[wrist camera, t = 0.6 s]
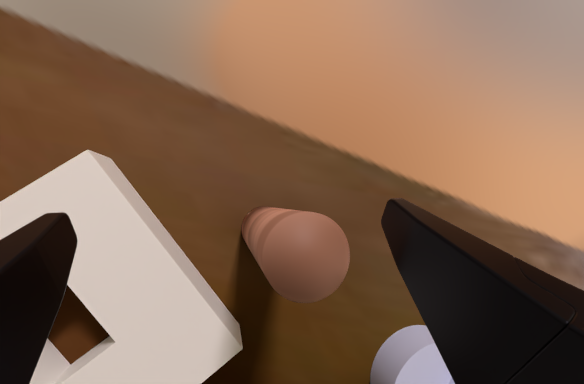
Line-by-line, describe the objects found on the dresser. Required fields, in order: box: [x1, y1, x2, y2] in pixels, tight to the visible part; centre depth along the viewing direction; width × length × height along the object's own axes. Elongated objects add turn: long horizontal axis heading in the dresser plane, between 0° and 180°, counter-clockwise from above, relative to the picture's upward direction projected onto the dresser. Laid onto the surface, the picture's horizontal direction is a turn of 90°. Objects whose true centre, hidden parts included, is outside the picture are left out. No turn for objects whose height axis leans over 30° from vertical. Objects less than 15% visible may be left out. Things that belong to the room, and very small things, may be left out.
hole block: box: [0, 150, 243, 384], centre depth 20 cm, size 16×16×4 cm
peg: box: [241, 207, 350, 303], centre depth 18 cm, size 4×4×13 cm
